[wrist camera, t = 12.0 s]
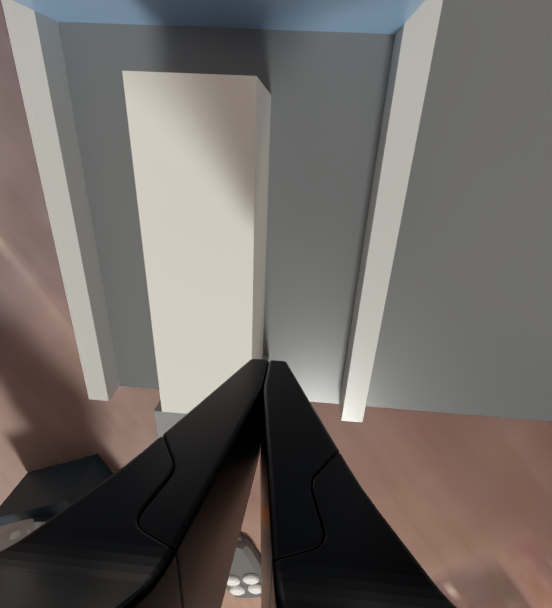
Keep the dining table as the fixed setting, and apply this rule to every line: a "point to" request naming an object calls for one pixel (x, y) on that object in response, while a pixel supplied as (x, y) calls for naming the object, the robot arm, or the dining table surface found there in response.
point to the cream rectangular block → (201, 225)
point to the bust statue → (47, 496)
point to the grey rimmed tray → (325, 187)
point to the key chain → (245, 570)
